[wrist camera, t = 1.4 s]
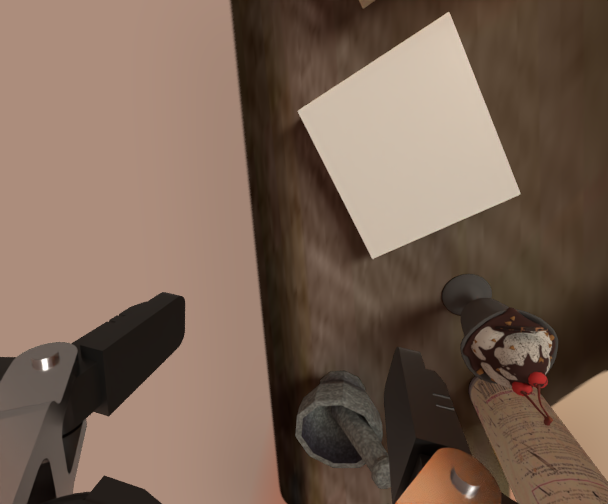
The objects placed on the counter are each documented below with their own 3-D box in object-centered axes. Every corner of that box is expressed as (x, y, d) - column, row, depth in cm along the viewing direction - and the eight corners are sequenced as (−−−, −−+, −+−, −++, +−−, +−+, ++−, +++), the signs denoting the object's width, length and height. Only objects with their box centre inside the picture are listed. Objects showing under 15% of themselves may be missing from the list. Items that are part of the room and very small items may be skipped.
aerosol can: (457, 399, 36) (559, 657, 17) (488, 357, 34) (644, 602, 15) (511, 423, 35) (677, 715, 17) (546, 381, 33) (784, 667, 14)
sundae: (465, 333, 33) (539, 457, 19) (421, 295, 33) (463, 393, 19) (515, 294, 31) (640, 404, 17) (468, 254, 31) (555, 330, 17)
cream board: (439, 28, 26) (449, 11, 23) (505, 191, 28) (520, 194, 26) (303, 115, 30) (297, 111, 27) (371, 250, 33) (372, 259, 30)
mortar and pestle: (314, 420, 41) (295, 516, 30) (298, 363, 39) (271, 444, 28) (396, 417, 38) (410, 522, 27) (384, 355, 36) (393, 442, 25)
